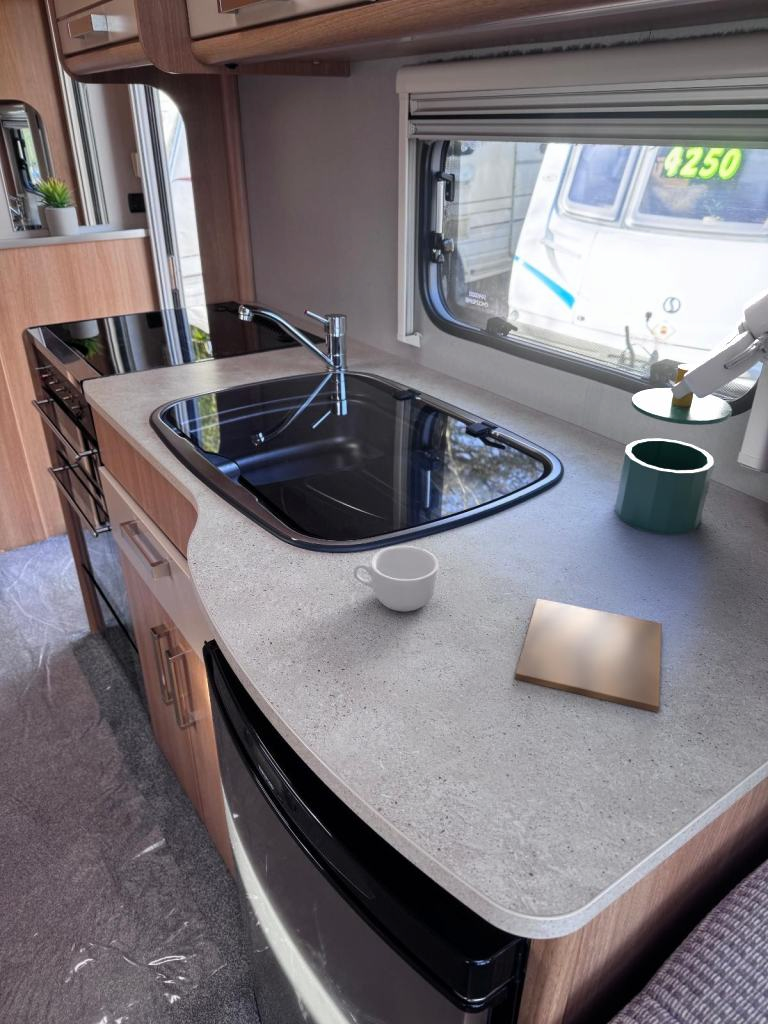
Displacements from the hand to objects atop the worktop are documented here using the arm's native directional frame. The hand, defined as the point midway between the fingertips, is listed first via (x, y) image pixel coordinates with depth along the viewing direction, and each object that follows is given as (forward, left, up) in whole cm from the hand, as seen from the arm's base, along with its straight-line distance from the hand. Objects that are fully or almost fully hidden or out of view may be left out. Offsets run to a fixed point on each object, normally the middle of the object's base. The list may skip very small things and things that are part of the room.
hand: (679, 389), depth 96 cm
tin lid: (-1, 0, -2) cm, 3 cm away
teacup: (+29, +33, -19) cm, 48 cm away
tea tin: (0, 0, -19) cm, 19 cm away
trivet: (+6, +35, -19) cm, 40 cm away
